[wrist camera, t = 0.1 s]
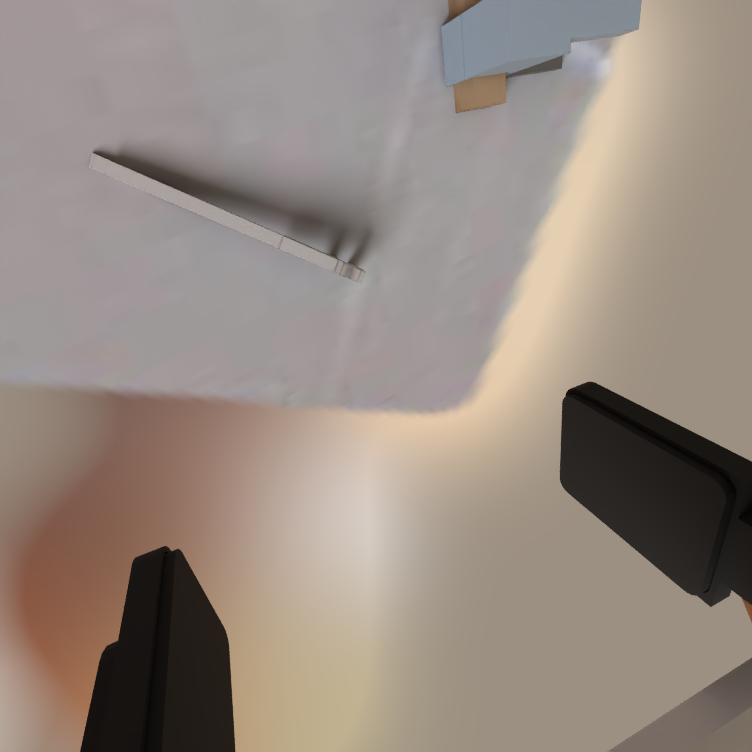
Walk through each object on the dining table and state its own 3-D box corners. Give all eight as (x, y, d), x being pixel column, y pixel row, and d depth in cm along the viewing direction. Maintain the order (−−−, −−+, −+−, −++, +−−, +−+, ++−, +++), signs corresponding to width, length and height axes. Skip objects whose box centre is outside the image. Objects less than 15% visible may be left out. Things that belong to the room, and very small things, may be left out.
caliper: (352, 262, 40) (376, 275, 34) (347, 274, 40) (371, 288, 34) (93, 152, 30) (69, 145, 24) (89, 168, 30) (65, 165, 25)
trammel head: (441, 27, 34) (508, -17, 27) (554, 14, 37) (644, -30, 29) (445, 86, 36) (509, 61, 28) (553, 70, 39) (637, 42, 31)
